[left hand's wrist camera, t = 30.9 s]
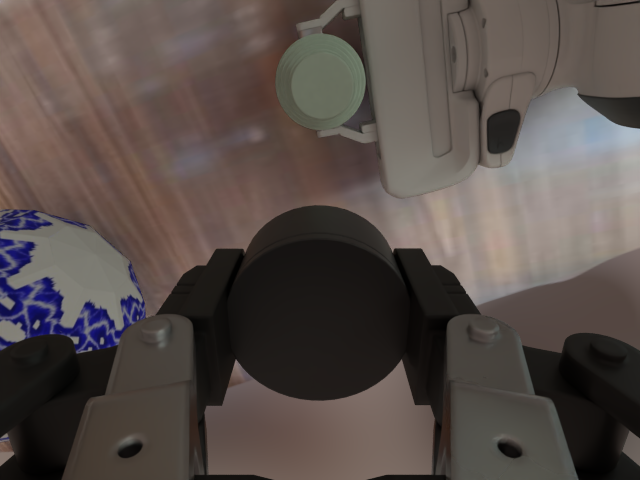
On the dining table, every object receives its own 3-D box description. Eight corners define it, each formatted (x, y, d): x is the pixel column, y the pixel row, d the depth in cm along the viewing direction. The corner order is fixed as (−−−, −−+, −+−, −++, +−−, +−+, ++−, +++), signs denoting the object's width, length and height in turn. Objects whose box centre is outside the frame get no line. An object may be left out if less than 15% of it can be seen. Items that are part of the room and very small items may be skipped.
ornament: (196, 394, 33) (42, 512, 37) (188, 240, 47) (78, 338, 52) (-119, 284, 20) (-291, 480, 25) (2, 122, 35) (-120, 265, 40)
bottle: (328, 121, 39) (341, 163, 21) (278, 90, 38) (246, 108, 20) (359, 67, 37) (400, 64, 20) (307, 34, 36) (300, -1, 19)
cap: (394, 339, 13) (411, 397, 10) (251, 345, 13) (236, 404, 10) (397, 200, 11) (417, 233, 9) (232, 208, 11) (210, 242, 9)
